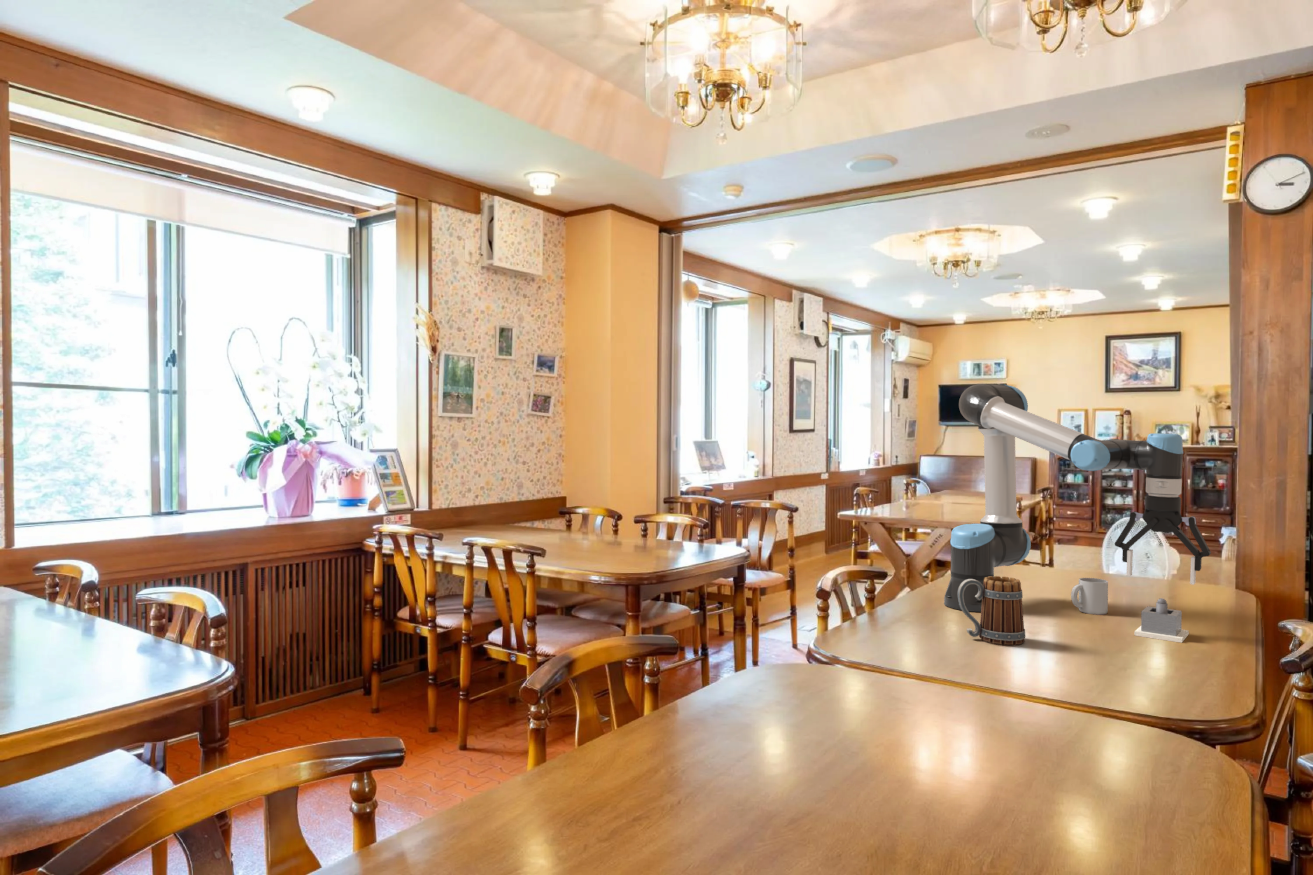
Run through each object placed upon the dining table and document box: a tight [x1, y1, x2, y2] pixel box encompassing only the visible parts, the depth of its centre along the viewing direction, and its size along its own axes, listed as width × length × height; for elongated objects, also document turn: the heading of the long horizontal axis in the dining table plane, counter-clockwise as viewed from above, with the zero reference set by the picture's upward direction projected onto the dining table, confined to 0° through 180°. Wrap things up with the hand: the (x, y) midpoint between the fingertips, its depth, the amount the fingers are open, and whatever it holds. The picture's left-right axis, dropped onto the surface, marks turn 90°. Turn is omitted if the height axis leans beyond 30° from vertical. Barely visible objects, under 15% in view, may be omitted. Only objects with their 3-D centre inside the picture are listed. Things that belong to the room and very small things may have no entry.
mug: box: [958, 575, 1026, 647], centre depth 194 cm, size 16×11×15 cm
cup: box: [1070, 577, 1109, 616], centre depth 223 cm, size 7×10×9 cm
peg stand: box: [1134, 597, 1190, 643], centre depth 198 cm, size 10×10×9 cm
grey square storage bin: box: [1140, 605, 1183, 636], centre depth 198 cm, size 7×7×5 cm
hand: (1160, 579), depth 198 cm, fingers open, 13 cm apart
